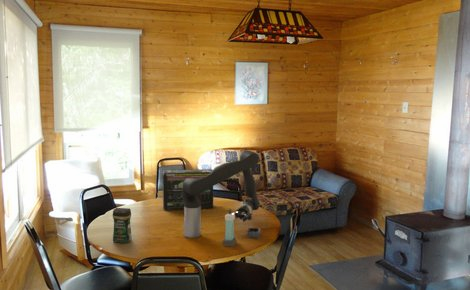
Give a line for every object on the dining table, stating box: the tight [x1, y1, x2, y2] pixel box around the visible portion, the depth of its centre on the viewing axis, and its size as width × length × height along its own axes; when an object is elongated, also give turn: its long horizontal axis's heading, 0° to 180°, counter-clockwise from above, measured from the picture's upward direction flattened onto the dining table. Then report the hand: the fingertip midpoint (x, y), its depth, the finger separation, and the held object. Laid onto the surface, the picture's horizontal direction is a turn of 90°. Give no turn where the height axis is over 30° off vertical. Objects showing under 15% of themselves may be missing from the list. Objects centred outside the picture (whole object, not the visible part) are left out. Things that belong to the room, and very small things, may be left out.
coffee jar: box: [112, 207, 133, 244], centre depth 229 cm, size 10×8×19 cm
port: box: [246, 227, 261, 239], centre depth 240 cm, size 7×7×4 cm
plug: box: [224, 208, 236, 241], centre depth 226 cm, size 4×4×20 cm
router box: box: [162, 168, 214, 211], centre depth 294 cm, size 36×11×27 cm, turn 99°
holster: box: [222, 236, 237, 248], centre depth 227 cm, size 6×6×3 cm
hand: (236, 219), depth 237 cm, fingers open, 8 cm apart
